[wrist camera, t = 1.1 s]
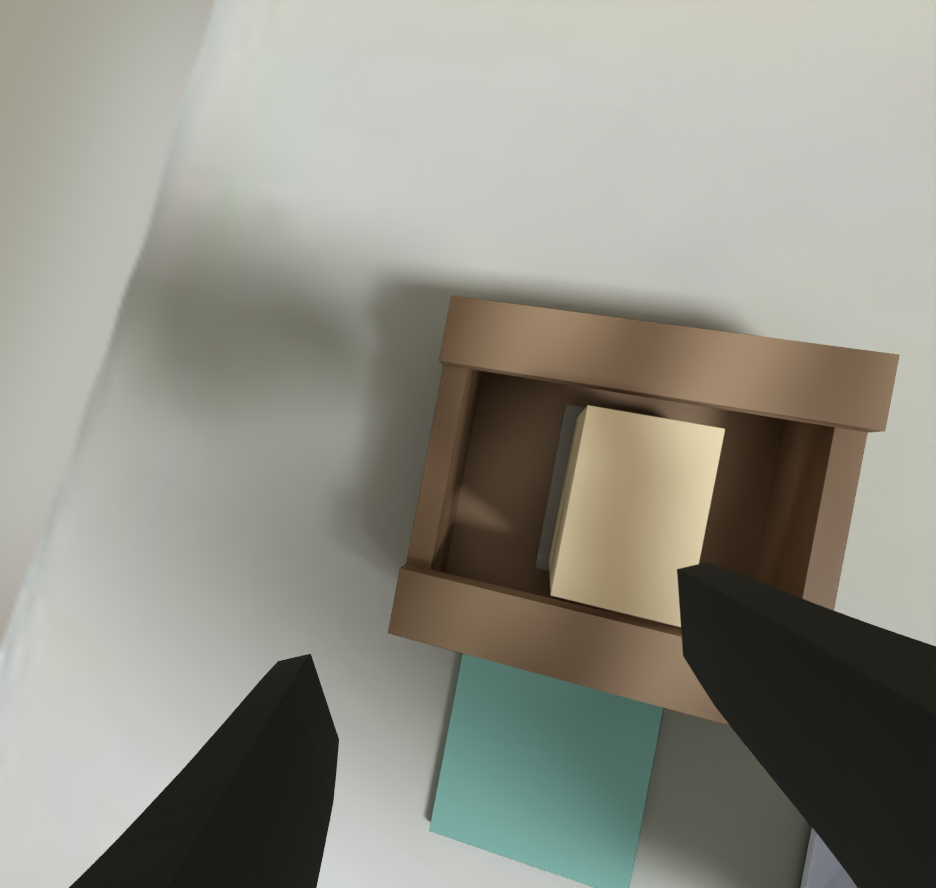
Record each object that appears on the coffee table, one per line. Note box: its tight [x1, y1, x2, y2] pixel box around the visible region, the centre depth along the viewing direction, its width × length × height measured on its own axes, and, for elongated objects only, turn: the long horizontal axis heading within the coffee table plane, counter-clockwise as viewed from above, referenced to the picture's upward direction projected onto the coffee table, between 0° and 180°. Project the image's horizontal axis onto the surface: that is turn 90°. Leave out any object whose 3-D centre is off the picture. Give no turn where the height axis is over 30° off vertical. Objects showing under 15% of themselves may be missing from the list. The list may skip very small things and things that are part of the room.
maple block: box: [549, 405, 725, 627], centre depth 16 cm, size 4×6×5 cm, turn 169°
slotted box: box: [388, 296, 899, 725], centre depth 18 cm, size 15×13×5 cm
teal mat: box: [429, 654, 663, 888], centre depth 21 cm, size 9×9×1 cm
